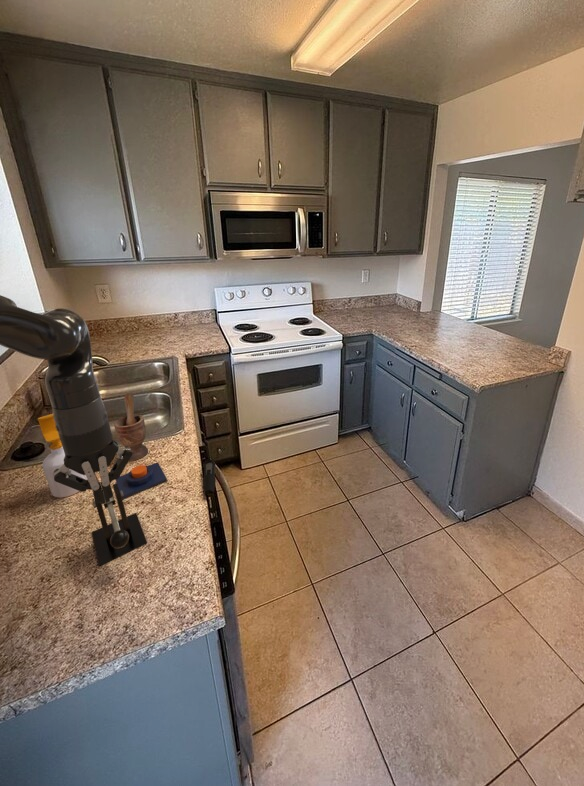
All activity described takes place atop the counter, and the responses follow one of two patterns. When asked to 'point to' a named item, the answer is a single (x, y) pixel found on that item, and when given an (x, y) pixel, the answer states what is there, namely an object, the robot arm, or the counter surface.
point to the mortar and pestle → (131, 430)
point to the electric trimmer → (209, 476)
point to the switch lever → (116, 527)
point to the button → (139, 471)
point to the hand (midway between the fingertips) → (105, 500)
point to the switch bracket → (104, 534)
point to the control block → (141, 481)
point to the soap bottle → (55, 458)
